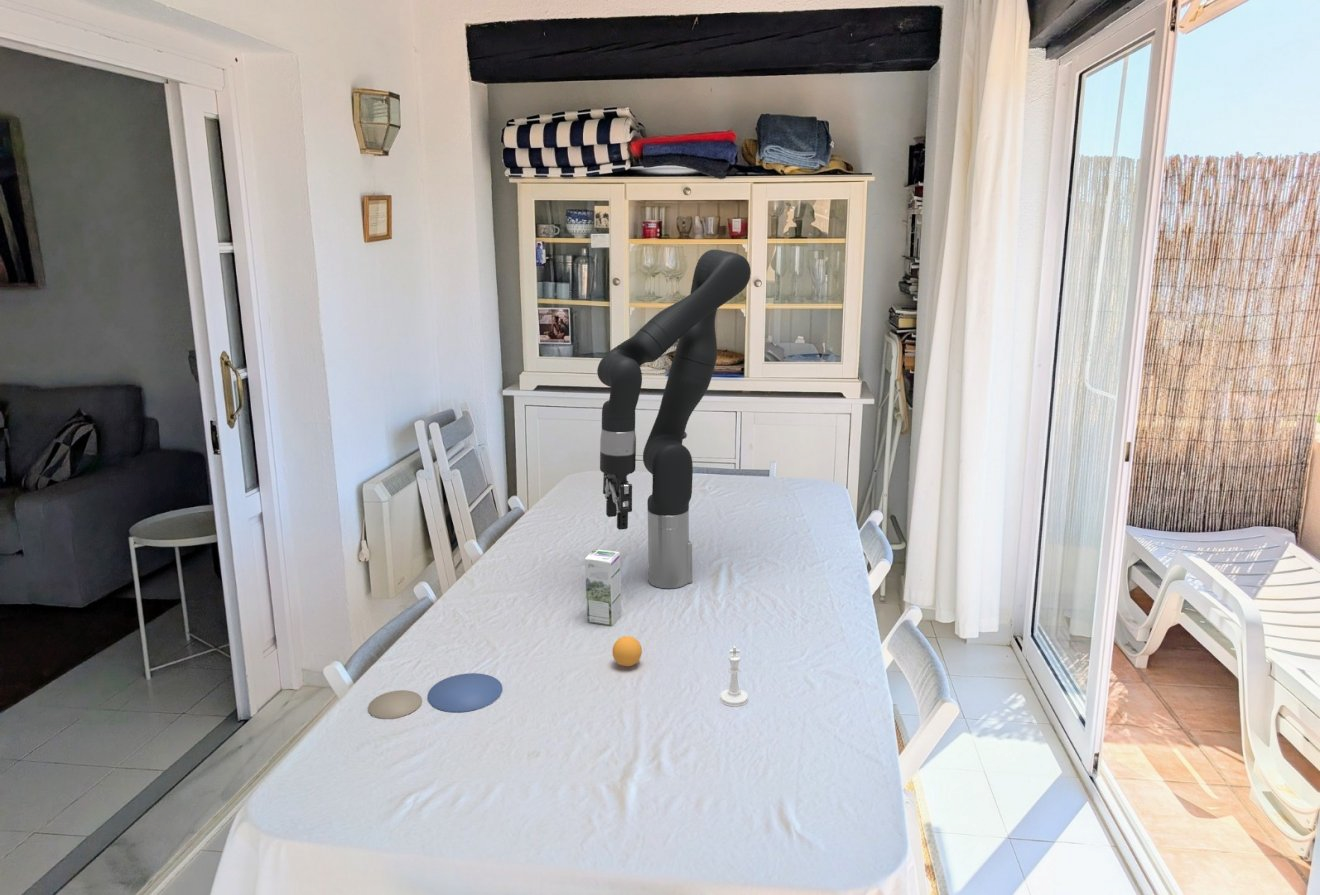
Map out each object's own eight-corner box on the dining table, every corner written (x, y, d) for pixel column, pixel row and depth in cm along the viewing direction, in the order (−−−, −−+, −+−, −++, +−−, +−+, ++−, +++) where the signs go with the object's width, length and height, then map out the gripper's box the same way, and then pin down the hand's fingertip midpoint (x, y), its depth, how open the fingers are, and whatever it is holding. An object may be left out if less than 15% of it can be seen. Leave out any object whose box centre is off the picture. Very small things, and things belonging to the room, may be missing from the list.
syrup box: (622, 615, 192) (620, 550, 188) (611, 627, 186) (610, 560, 183) (597, 611, 194) (595, 547, 190) (586, 623, 188) (583, 557, 184)
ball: (637, 655, 175) (636, 629, 173) (645, 668, 170) (645, 641, 168) (609, 660, 173) (608, 633, 172) (617, 673, 168) (616, 646, 166)
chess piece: (717, 692, 161) (718, 641, 159) (745, 691, 162) (746, 639, 159) (722, 707, 157) (722, 654, 154) (750, 705, 157) (751, 653, 154)
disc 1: (419, 687, 164) (419, 686, 164) (423, 713, 156) (423, 712, 156) (367, 696, 161) (367, 695, 161) (368, 723, 153) (368, 722, 153)
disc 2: (496, 669, 170) (496, 668, 170) (507, 704, 158) (507, 703, 158) (424, 681, 166) (424, 680, 166) (431, 718, 154) (430, 717, 154)
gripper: (645, 457, 187) (643, 532, 191) (625, 440, 200) (624, 510, 204) (609, 459, 185) (608, 535, 189) (592, 442, 198) (591, 513, 202)
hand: (616, 522), depth 197 cm, fingers open, 8 cm apart
